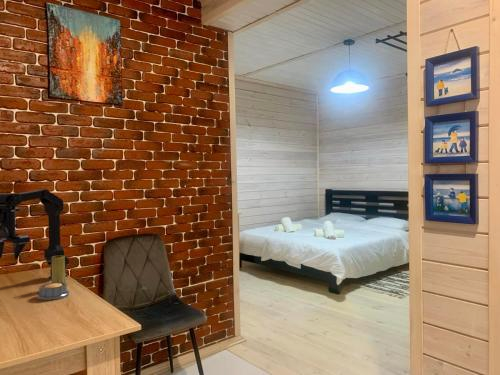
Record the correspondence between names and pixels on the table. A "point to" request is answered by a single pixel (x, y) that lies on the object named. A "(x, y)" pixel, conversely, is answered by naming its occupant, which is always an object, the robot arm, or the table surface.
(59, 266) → the vase
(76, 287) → the table surface
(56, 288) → the collar
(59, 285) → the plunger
